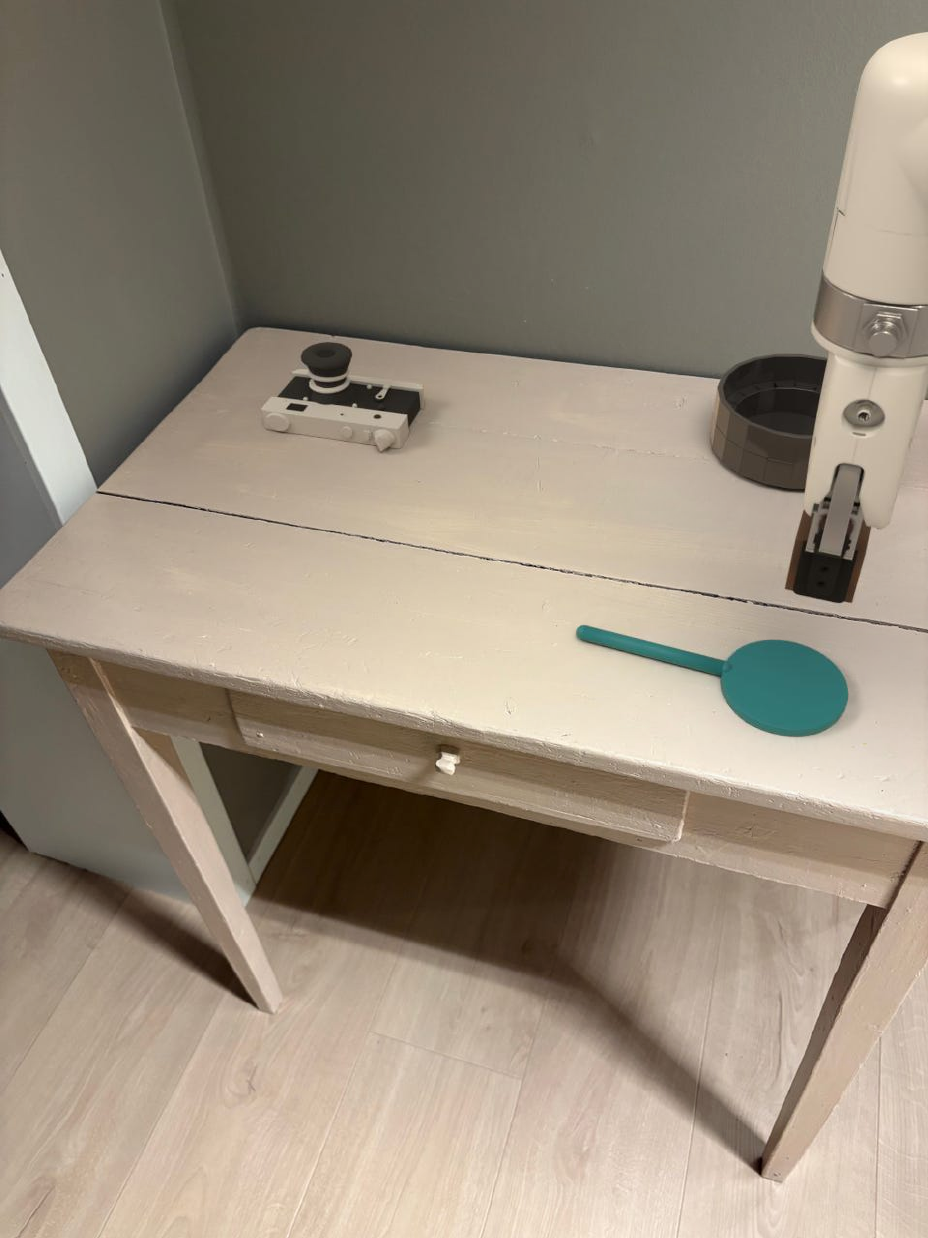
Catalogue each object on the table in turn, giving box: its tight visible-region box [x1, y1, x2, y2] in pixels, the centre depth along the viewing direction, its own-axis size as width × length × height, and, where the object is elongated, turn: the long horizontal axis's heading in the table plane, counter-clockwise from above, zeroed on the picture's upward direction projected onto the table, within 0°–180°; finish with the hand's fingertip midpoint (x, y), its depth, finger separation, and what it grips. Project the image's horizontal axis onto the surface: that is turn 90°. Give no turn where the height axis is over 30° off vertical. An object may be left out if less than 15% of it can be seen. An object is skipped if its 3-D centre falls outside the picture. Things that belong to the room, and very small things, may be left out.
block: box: [784, 509, 872, 604], centre depth 62 cm, size 4×4×4 cm
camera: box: [260, 341, 426, 452], centre depth 99 cm, size 15×7×10 cm
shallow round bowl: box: [709, 353, 828, 490], centre depth 92 cm, size 15×15×6 cm
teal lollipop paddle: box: [575, 624, 849, 737], centre depth 73 cm, size 21×9×1 cm, turn 67°
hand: (824, 569), depth 63 cm, fingers closed on block, 4 cm apart
